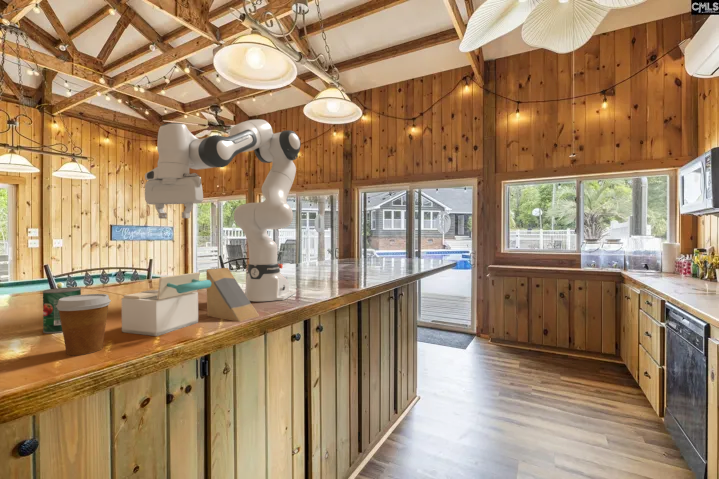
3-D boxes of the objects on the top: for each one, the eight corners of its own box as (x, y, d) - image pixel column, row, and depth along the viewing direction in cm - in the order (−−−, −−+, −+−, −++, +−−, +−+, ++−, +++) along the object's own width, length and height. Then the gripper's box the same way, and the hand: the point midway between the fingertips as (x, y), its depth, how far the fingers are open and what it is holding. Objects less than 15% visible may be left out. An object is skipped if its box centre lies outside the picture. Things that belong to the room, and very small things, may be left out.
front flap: (157, 298, 86) (176, 304, 85) (159, 277, 86) (179, 282, 84) (195, 290, 99) (213, 295, 97) (198, 272, 98) (216, 276, 97)
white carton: (166, 319, 103) (166, 290, 103) (198, 322, 99) (198, 292, 99) (121, 332, 90) (121, 298, 90) (156, 336, 86) (156, 301, 86)
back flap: (164, 290, 102) (164, 287, 102) (179, 291, 101) (179, 288, 101) (123, 297, 90) (123, 294, 90) (139, 298, 88) (139, 295, 88)
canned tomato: (36, 331, 90) (35, 290, 90) (70, 324, 97) (70, 286, 97) (53, 335, 87) (53, 292, 87) (87, 327, 94) (87, 288, 94)
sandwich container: (239, 322, 100) (239, 272, 100) (206, 316, 108) (205, 269, 108) (260, 316, 108) (260, 269, 108) (228, 310, 115) (228, 267, 115)
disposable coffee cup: (48, 361, 69) (47, 302, 69) (66, 346, 78) (66, 295, 78) (104, 354, 73) (104, 299, 73) (116, 341, 82) (115, 292, 82)
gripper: (207, 174, 106) (208, 218, 106) (158, 177, 113) (158, 219, 113) (192, 170, 100) (192, 217, 100) (140, 174, 107) (140, 218, 107)
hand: (174, 218), depth 107 cm, fingers open, 8 cm apart
